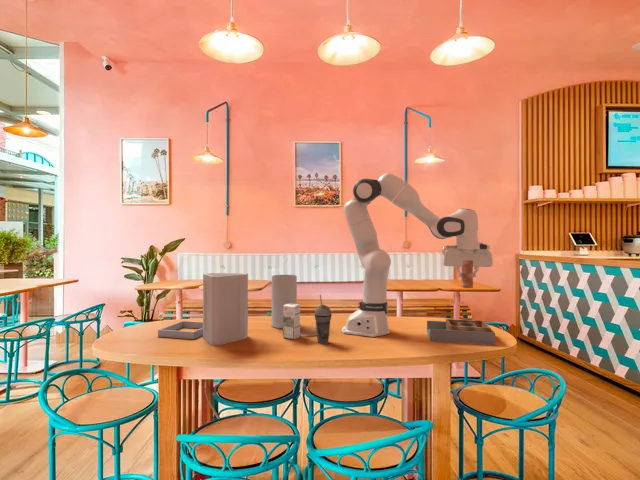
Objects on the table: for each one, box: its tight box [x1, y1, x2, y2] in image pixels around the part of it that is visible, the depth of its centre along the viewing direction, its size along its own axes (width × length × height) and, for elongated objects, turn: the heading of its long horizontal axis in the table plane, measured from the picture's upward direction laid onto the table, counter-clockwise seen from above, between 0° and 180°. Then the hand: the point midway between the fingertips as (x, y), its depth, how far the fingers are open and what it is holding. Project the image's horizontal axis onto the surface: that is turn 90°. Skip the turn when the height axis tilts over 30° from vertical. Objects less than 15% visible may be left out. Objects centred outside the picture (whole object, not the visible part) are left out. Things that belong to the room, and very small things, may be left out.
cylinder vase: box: [271, 274, 298, 329], centre depth 173 cm, size 12×12×25 cm
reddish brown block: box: [460, 260, 474, 289], centre depth 152 cm, size 4×4×12 cm
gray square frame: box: [157, 320, 203, 340], centre depth 159 cm, size 18×18×3 cm
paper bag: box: [202, 272, 249, 346], centre depth 148 cm, size 19×15×28 cm
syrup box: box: [282, 303, 301, 340], centre depth 152 cm, size 6×6×14 cm
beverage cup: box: [314, 294, 333, 345], centre depth 145 cm, size 7×7×20 cm
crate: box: [445, 318, 492, 332], centre depth 152 cm, size 16×14×5 cm
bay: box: [426, 320, 496, 346], centre depth 153 cm, size 26×17×5 cm
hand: (467, 276), depth 152 cm, fingers closed on reddish brown block, 4 cm apart
